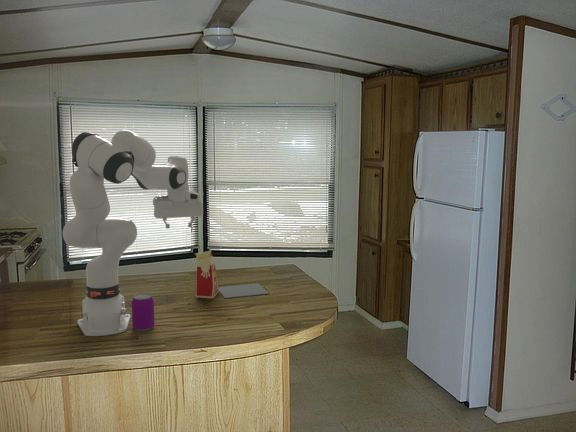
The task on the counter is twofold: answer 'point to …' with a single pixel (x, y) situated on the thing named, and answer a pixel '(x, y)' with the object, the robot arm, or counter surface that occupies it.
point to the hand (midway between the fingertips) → (179, 227)
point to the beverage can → (143, 312)
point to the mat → (242, 290)
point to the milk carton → (206, 276)
